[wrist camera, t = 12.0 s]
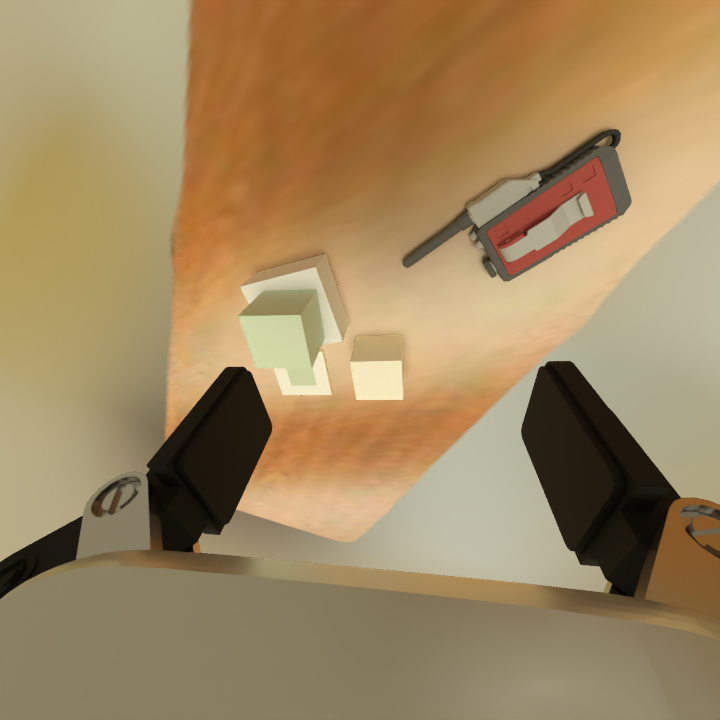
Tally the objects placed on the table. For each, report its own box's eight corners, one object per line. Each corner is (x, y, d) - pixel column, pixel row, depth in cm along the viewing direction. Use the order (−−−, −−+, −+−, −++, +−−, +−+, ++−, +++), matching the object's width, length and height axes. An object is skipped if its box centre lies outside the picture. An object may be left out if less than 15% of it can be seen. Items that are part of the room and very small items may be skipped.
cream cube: (356, 335, 40) (350, 361, 35) (401, 334, 39) (401, 360, 34) (361, 371, 43) (356, 399, 38) (403, 370, 42) (403, 399, 37)
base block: (258, 271, 36) (239, 286, 32) (326, 252, 34) (315, 267, 30) (287, 333, 41) (275, 353, 37) (349, 321, 39) (342, 341, 35)
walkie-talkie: (600, 103, 24) (397, 253, 33) (633, 95, 21) (397, 266, 30) (629, 198, 28) (439, 312, 37) (662, 205, 24) (442, 329, 33)
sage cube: (263, 290, 32) (238, 315, 27) (316, 289, 31) (300, 315, 26) (276, 338, 36) (255, 368, 31) (324, 338, 35) (311, 368, 30)
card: (269, 351, 43) (268, 353, 42) (323, 349, 42) (322, 352, 41) (283, 392, 47) (282, 395, 47) (332, 392, 46) (331, 395, 46)
